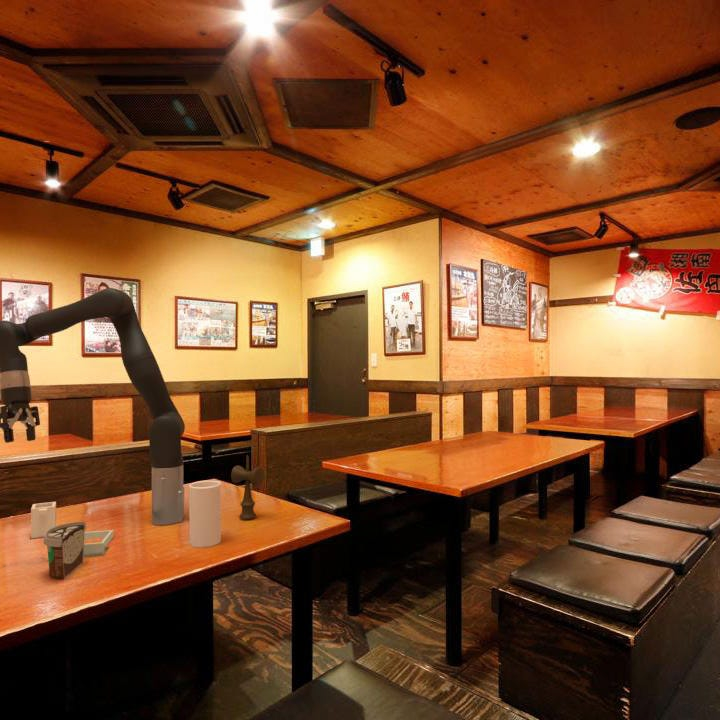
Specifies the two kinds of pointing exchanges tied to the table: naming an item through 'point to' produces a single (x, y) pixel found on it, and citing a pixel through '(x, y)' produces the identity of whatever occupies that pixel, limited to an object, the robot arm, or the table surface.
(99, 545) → the tray
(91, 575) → the table surface
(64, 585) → the table surface
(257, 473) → the kendama
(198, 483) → the cup
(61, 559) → the food container
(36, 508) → the cream open box
